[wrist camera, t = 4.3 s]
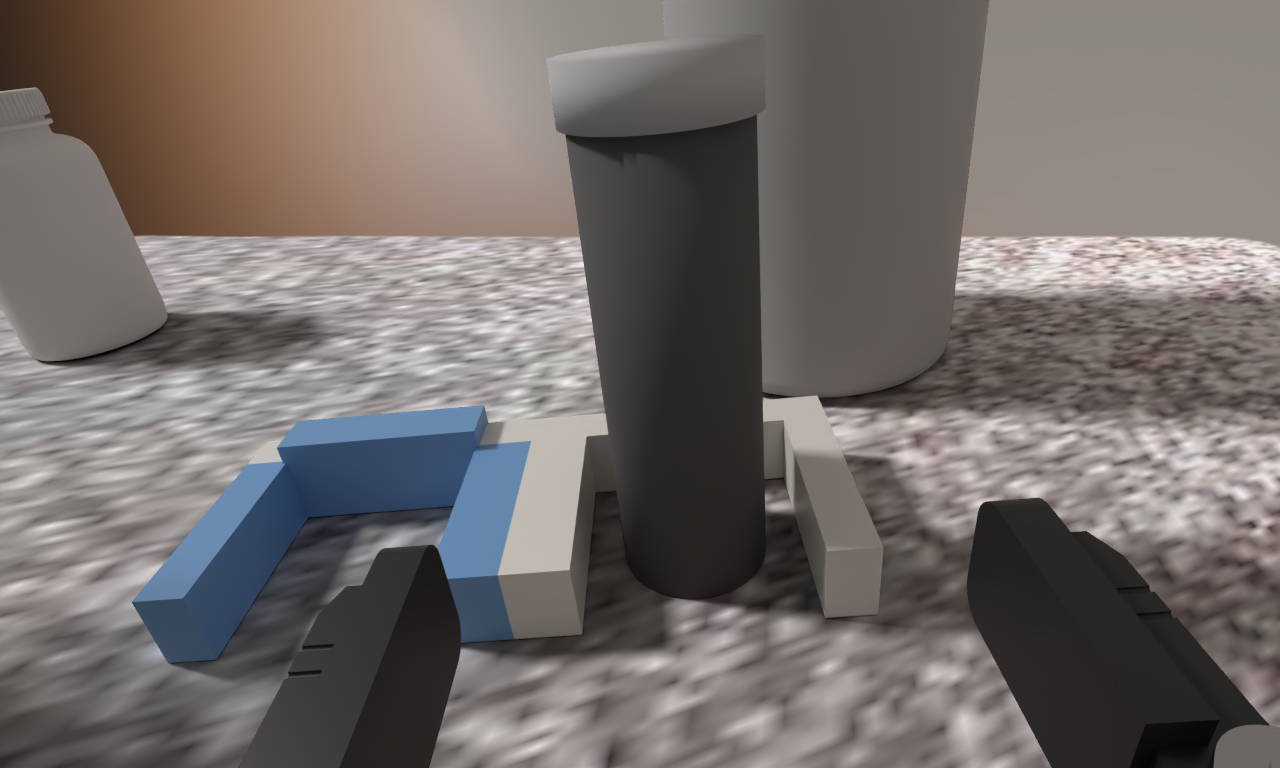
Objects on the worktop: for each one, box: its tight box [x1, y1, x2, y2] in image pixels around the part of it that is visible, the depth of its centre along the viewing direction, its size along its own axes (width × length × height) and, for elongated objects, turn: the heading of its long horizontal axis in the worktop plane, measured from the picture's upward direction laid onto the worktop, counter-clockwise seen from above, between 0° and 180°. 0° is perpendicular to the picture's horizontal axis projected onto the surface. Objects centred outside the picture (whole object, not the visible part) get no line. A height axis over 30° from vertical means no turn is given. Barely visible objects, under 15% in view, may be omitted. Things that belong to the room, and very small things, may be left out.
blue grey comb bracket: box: [132, 396, 884, 663], centre depth 24 cm, size 8×21×3 cm, turn 90°
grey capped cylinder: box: [546, 34, 766, 599], centre depth 20 cm, size 5×5×15 cm
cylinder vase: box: [662, 0, 989, 398], centre depth 30 cm, size 12×12×25 cm
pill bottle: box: [0, 88, 168, 361], centre depth 43 cm, size 8×8×15 cm
